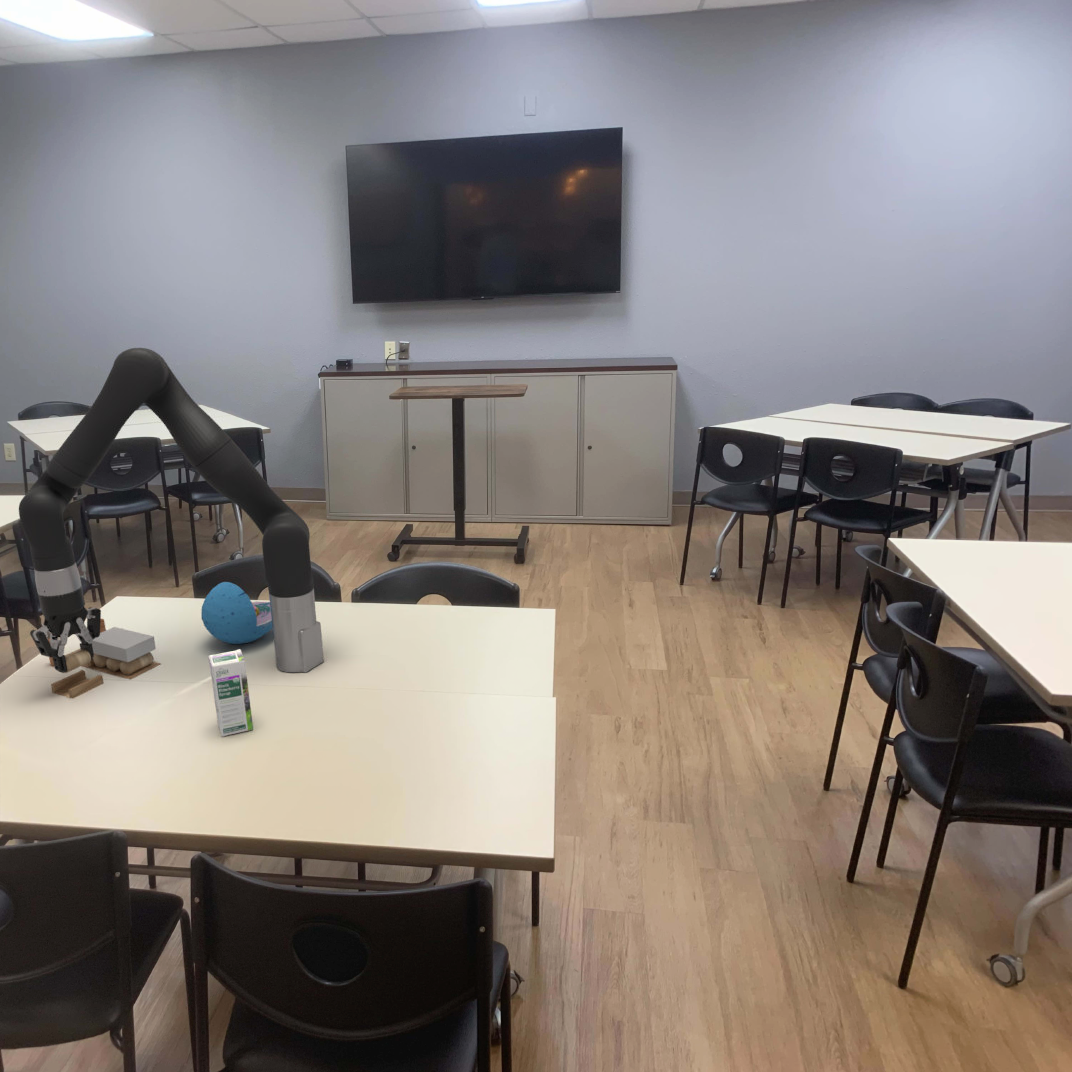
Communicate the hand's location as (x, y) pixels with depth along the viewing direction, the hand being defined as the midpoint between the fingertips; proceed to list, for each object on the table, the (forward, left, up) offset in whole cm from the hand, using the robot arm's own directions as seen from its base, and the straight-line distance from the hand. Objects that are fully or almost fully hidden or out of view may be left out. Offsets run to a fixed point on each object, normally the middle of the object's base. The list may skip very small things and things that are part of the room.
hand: (75, 665), depth 163 cm
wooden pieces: (+5, -7, -6) cm, 11 cm away
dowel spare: (0, 0, 0) cm, 0 cm away
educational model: (-12, -34, -6) cm, 36 cm away
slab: (0, -11, -1) cm, 11 cm away
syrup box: (-39, -3, -6) cm, 39 cm away
